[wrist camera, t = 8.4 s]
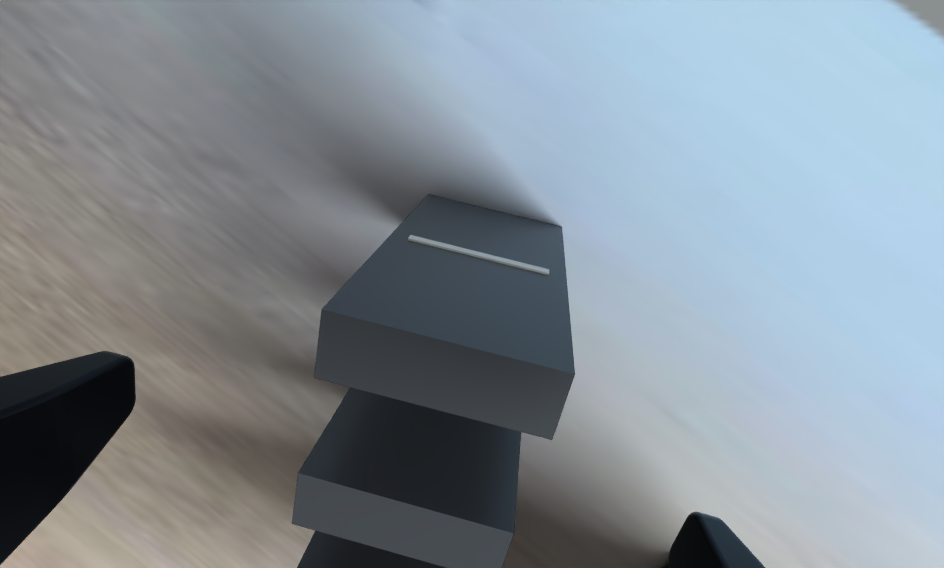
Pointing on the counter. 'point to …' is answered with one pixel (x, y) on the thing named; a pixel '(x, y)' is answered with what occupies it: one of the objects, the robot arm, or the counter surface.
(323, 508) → the domino
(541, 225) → the domino
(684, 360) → the counter surface
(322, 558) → the domino
